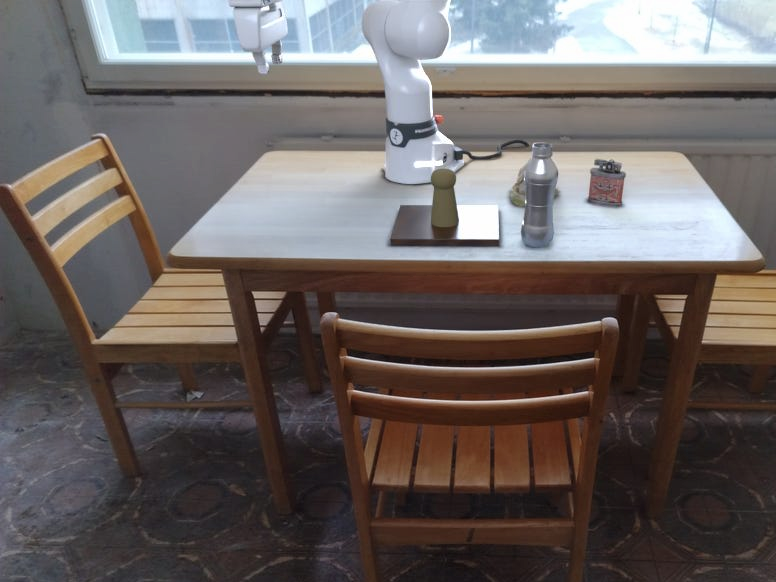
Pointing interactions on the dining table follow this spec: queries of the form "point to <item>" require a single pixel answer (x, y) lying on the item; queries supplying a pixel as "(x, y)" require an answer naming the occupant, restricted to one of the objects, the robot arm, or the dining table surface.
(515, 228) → the dining table surface
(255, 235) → the dining table surface
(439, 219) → the olive tapered cylinder
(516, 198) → the ceramic model
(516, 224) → the dining table surface
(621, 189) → the lighter
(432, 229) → the walnut board
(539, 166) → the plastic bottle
